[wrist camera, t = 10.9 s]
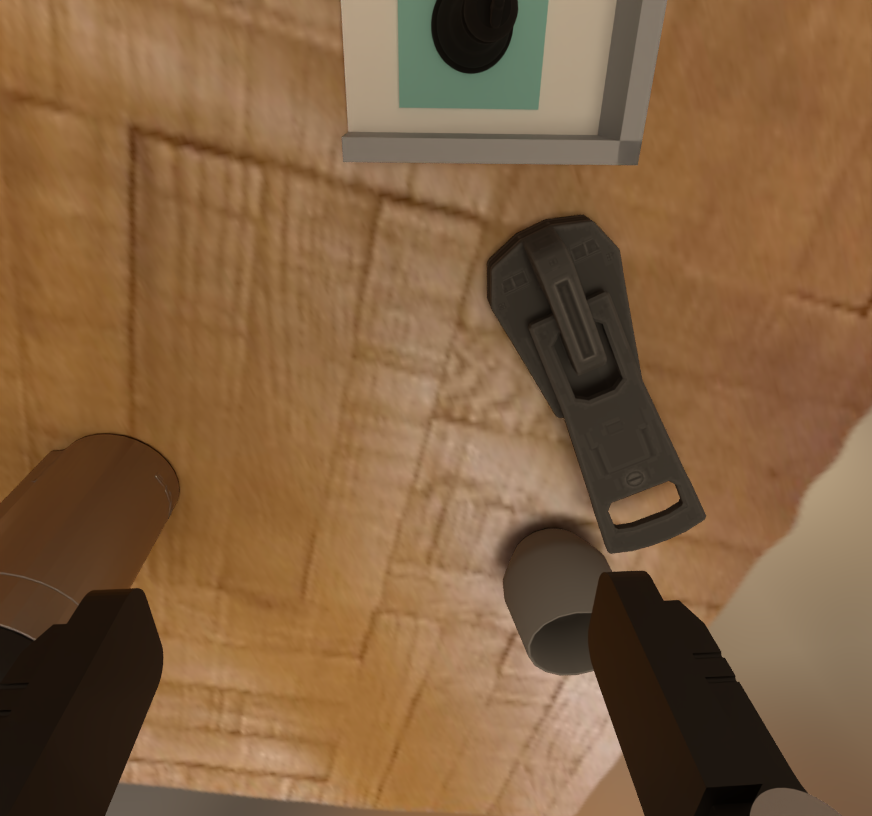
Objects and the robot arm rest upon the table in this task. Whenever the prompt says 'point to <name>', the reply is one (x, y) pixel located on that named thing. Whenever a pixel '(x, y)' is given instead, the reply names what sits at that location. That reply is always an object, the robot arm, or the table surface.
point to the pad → (447, 88)
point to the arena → (511, 128)
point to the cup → (554, 598)
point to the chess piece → (473, 32)
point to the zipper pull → (590, 369)
